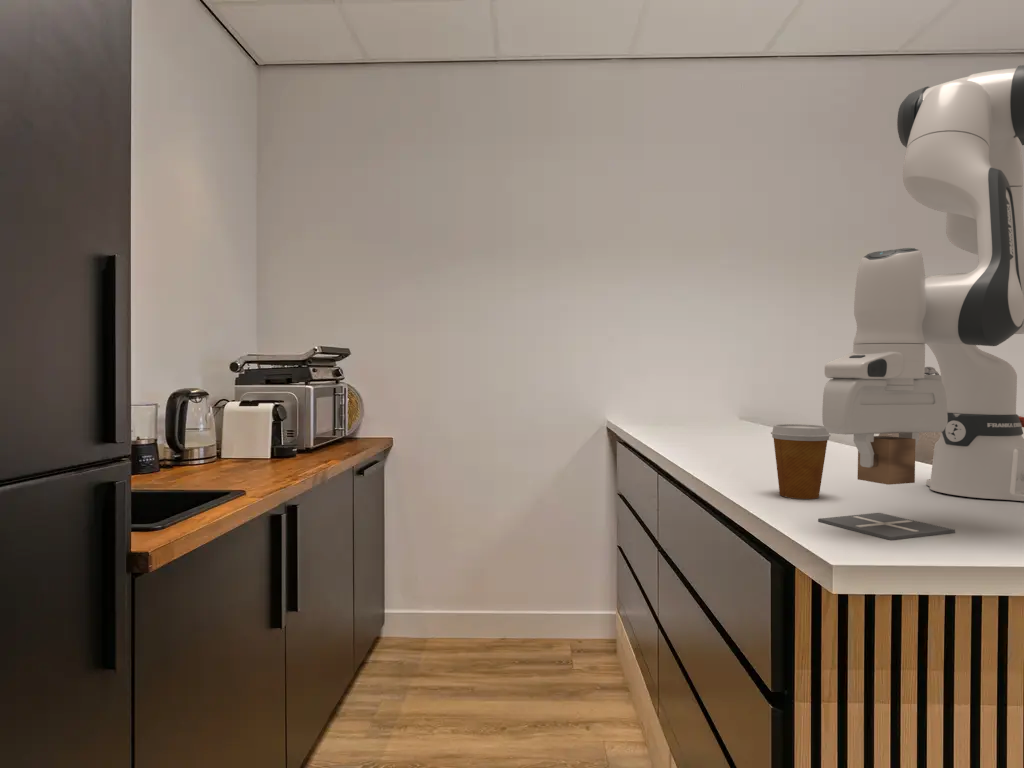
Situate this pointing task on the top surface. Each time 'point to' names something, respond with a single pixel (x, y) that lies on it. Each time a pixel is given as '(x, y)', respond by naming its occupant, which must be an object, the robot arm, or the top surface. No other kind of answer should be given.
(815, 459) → the disposable coffee cup
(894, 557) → the top surface
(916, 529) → the pad
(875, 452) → the walnut block
